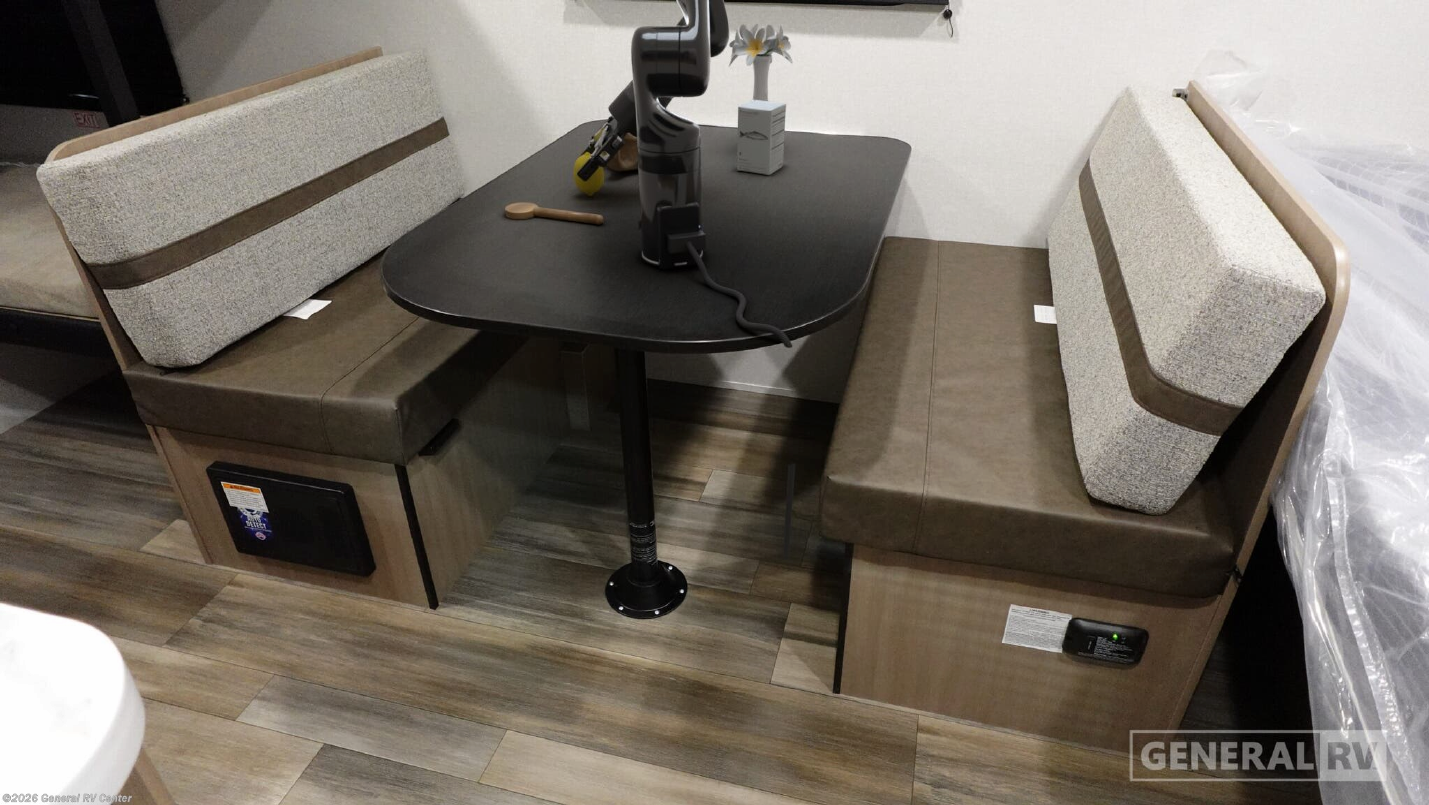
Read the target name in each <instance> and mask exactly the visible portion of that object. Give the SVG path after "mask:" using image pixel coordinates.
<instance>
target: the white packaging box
mask: <svg viewBox="0 0 1429 805" xmlns="http://www.w3.org/2000/svg"><path fill="white" fill-rule="evenodd" d="M786 112H787V103H786V102H785V103H784V102H776V101H770V100H768V101H761V100H753V99H751V100H749V101H747V102H744V103H742V104H740V105H739V106H737V143H736V146H737V148H736V171H740V172H741V171H742V172H749V173H754V174H761V175H766V176H770V175H772V174H773V173H775V172H777V171H778V170H780V169H781V168H782V167H783V166H784V155H785V154H784V152H785V134H786V133H785V132H786Z"/></svg>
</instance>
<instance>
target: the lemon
mask: <svg viewBox="0 0 1429 805" xmlns="http://www.w3.org/2000/svg"><path fill="white" fill-rule="evenodd" d="M591 155H592V154H590V153H589V152H586V153H585V154H584V155H582V156H580V155H579V156H580V157H579V156H578V157H579V158H578V157H577V158H578V159H577V158H576V160H575V162H574V165H573V171H572V172H573V173H572V174H573V182H574V184H575V185H576V187H577V189H578V190H579V191H581V192H582V193H585V194H586V195H587V196H589V197H593V195H594V194H595V193H596V192H598V191H600V189H602V187H603V185H604V181H605V170H604V168H603V167H601V168H600V167H599V168H598V169H597V170H596V172H595V173H594V174H593V175H592V176H591V177H590V178H589V179H588V180H587V181H586V182H585V181H583V180H582V179H581V178H579V177H578V176H577V172H578V170H579V169H580V168H581V167H582V166H583V165H584V164H585V163H586V161H587V160H588V159H589V158H590V157H591Z"/></svg>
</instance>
